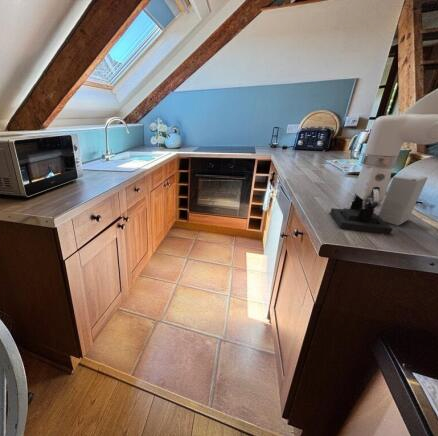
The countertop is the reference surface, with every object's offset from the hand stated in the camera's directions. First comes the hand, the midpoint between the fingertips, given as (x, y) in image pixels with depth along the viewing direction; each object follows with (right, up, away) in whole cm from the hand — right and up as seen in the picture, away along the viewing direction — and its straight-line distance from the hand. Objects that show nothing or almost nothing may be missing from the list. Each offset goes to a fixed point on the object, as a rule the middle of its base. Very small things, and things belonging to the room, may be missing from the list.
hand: (358, 216), depth 78 cm
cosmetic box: (+13, -1, +2) cm, 14 cm away
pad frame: (0, -2, +1) cm, 2 cm away
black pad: (0, -1, +1) cm, 1 cm away
